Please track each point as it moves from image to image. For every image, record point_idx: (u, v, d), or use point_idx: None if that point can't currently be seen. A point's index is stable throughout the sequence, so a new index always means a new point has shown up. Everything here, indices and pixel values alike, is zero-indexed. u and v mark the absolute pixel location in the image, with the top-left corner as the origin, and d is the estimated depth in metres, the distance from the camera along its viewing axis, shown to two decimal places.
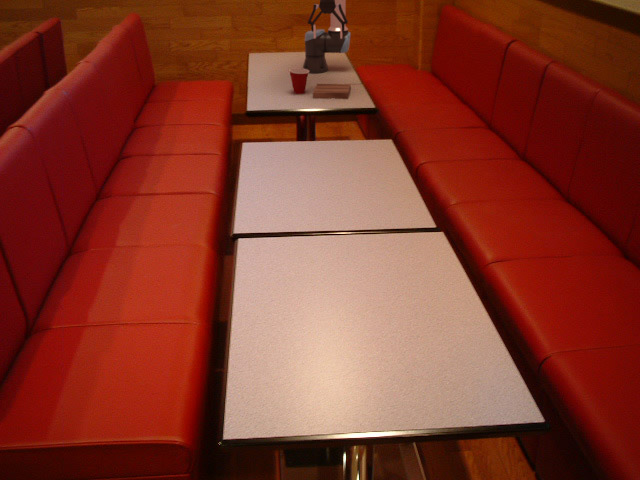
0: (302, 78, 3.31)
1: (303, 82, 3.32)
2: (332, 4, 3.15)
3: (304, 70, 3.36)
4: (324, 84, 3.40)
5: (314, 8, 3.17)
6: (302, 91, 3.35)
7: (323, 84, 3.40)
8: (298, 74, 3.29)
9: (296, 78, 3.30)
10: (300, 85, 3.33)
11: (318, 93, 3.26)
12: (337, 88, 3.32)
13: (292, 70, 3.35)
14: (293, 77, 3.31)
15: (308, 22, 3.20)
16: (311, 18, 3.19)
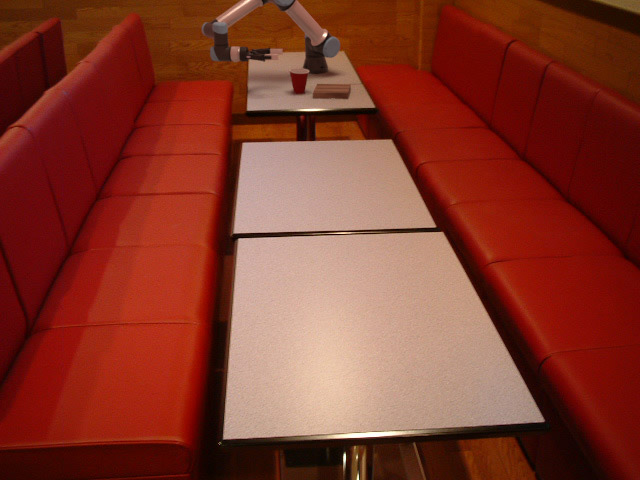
0: (302, 78, 3.31)
1: (303, 82, 3.32)
2: None
3: (304, 70, 3.36)
4: (324, 84, 3.40)
5: None
6: (302, 91, 3.35)
7: (323, 84, 3.40)
8: (298, 74, 3.29)
9: (296, 78, 3.30)
10: (300, 85, 3.33)
11: (318, 93, 3.26)
12: (337, 88, 3.32)
13: (292, 70, 3.35)
14: (293, 77, 3.31)
15: None
16: None
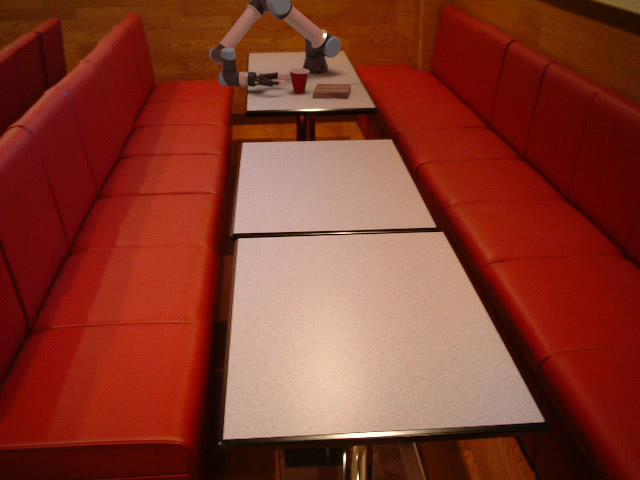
0: (302, 78, 3.31)
1: (303, 82, 3.32)
2: None
3: (304, 70, 3.36)
4: (324, 84, 3.40)
5: None
6: (302, 91, 3.35)
7: (323, 84, 3.40)
8: (298, 74, 3.29)
9: (296, 78, 3.30)
10: (300, 85, 3.33)
11: (318, 93, 3.26)
12: (337, 88, 3.32)
13: (292, 70, 3.35)
14: (293, 77, 3.31)
15: None
16: None
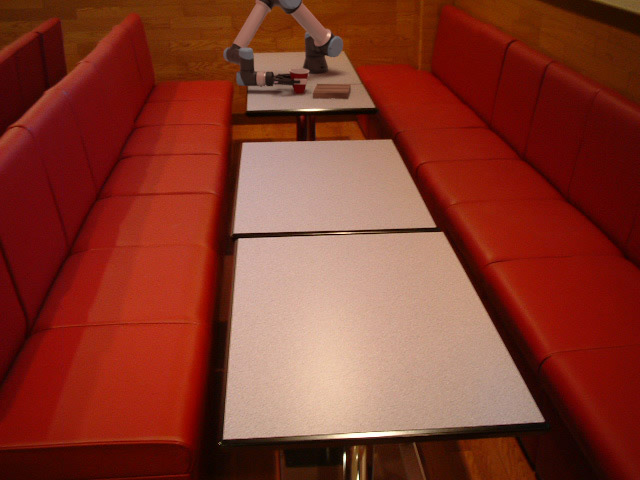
0: (302, 78, 3.31)
1: None
2: (273, 82, 3.34)
3: (304, 70, 3.36)
4: (324, 84, 3.40)
5: None
6: (302, 91, 3.35)
7: (323, 84, 3.40)
8: (298, 74, 3.29)
9: (296, 78, 3.30)
10: (300, 85, 3.33)
11: (318, 93, 3.26)
12: (337, 88, 3.32)
13: (292, 70, 3.35)
14: (293, 77, 3.31)
15: None
16: None
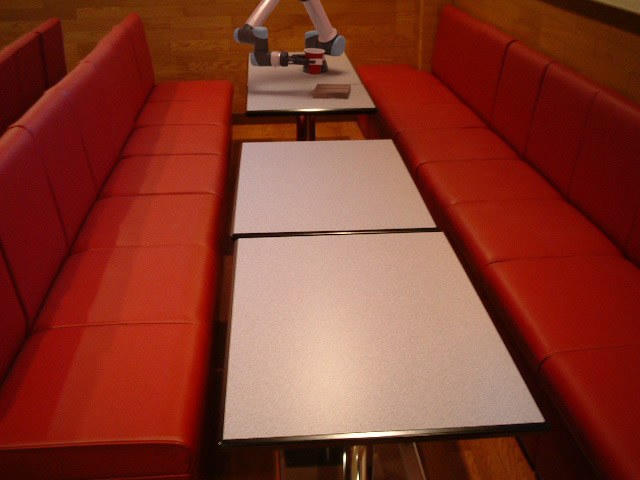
0: (318, 58, 3.23)
1: None
2: (288, 62, 3.26)
3: (319, 50, 3.28)
4: (324, 84, 3.40)
5: None
6: (317, 72, 3.27)
7: (323, 84, 3.40)
8: (314, 54, 3.21)
9: (311, 58, 3.22)
10: (315, 65, 3.25)
11: (318, 93, 3.26)
12: (337, 88, 3.32)
13: (307, 50, 3.28)
14: (308, 57, 3.23)
15: None
16: None
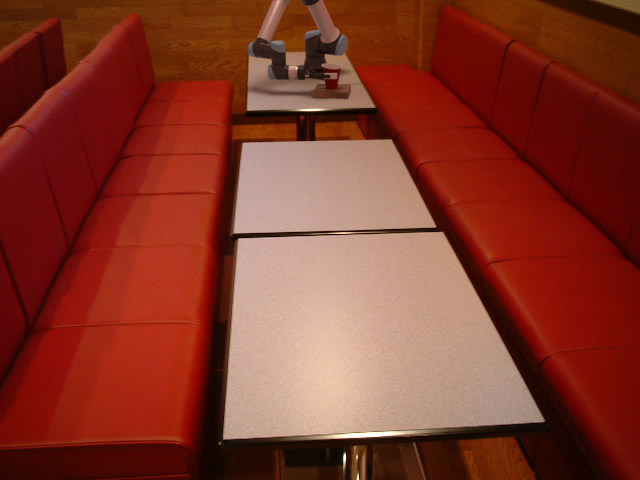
0: None
1: None
2: None
3: (336, 65, 3.31)
4: (324, 84, 3.40)
5: None
6: (334, 87, 3.30)
7: (323, 84, 3.40)
8: (332, 69, 3.23)
9: None
10: (333, 81, 3.27)
11: (318, 93, 3.26)
12: (337, 88, 3.32)
13: (324, 65, 3.30)
14: (326, 72, 3.26)
15: None
16: None
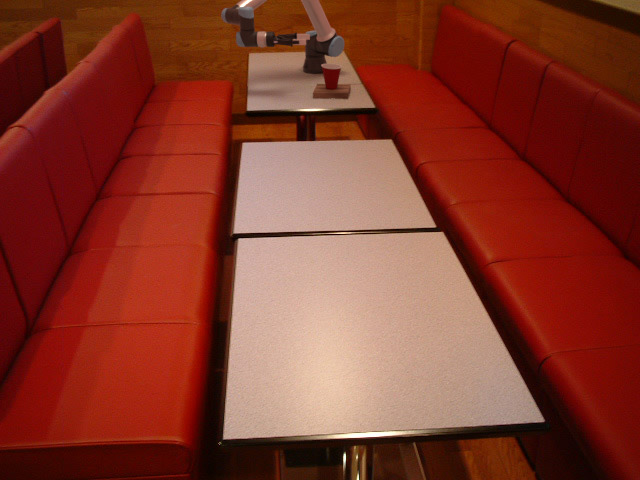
0: (335, 74, 3.26)
1: (336, 78, 3.27)
2: None
3: (336, 65, 3.31)
4: (324, 84, 3.40)
5: None
6: (334, 87, 3.30)
7: (323, 84, 3.40)
8: (331, 69, 3.23)
9: (329, 73, 3.25)
10: (333, 81, 3.27)
11: (318, 93, 3.26)
12: (337, 88, 3.32)
13: (324, 65, 3.30)
14: (326, 72, 3.26)
15: None
16: None
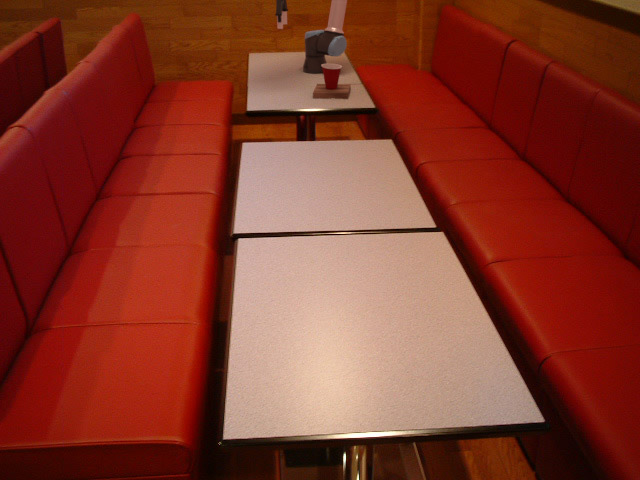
0: (335, 74, 3.26)
1: (336, 78, 3.27)
2: None
3: (336, 65, 3.31)
4: (324, 84, 3.40)
5: None
6: (334, 87, 3.30)
7: (323, 84, 3.40)
8: (331, 69, 3.23)
9: (329, 73, 3.25)
10: (333, 81, 3.27)
11: (318, 93, 3.26)
12: (337, 88, 3.32)
13: (324, 65, 3.30)
14: (326, 72, 3.26)
15: None
16: None
